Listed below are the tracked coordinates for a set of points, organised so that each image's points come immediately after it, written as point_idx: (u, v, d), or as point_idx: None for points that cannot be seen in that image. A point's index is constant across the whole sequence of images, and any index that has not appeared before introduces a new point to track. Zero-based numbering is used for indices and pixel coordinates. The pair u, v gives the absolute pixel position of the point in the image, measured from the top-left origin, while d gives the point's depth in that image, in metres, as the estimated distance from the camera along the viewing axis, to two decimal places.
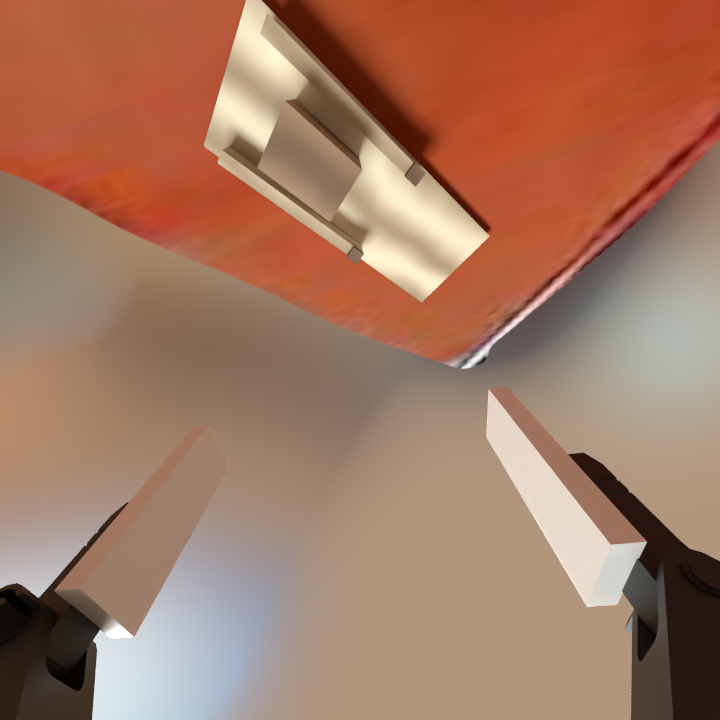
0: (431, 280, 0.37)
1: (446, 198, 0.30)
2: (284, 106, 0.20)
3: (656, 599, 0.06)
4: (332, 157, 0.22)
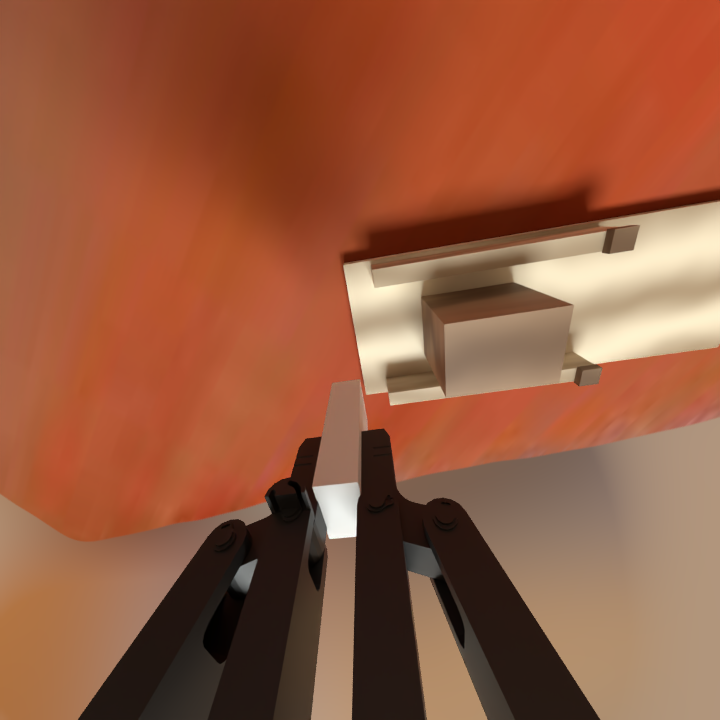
0: (715, 313, 0.22)
1: (667, 217, 0.19)
2: (446, 329, 0.16)
3: None
4: (526, 324, 0.15)
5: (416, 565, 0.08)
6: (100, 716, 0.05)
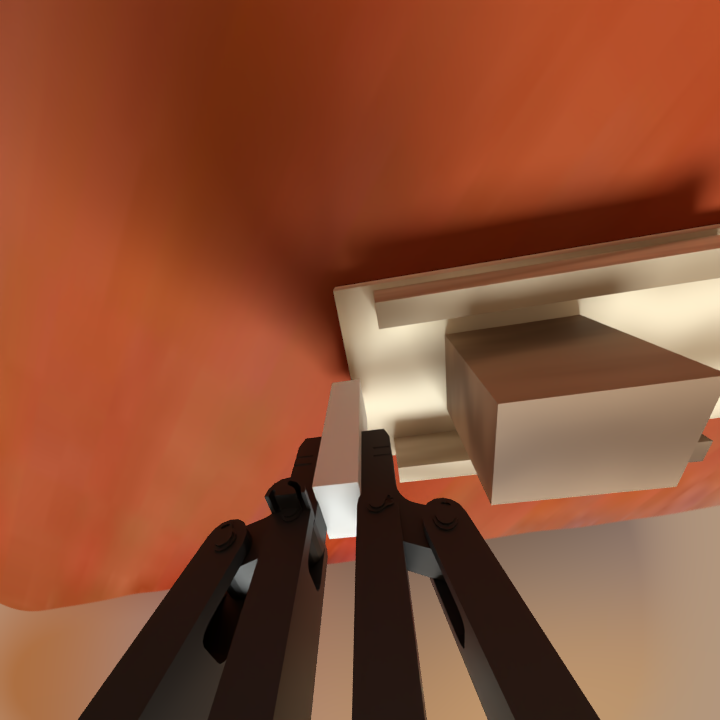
0: None
1: None
2: (500, 410, 0.09)
3: None
4: (639, 404, 0.09)
5: (416, 565, 0.08)
6: (100, 716, 0.05)
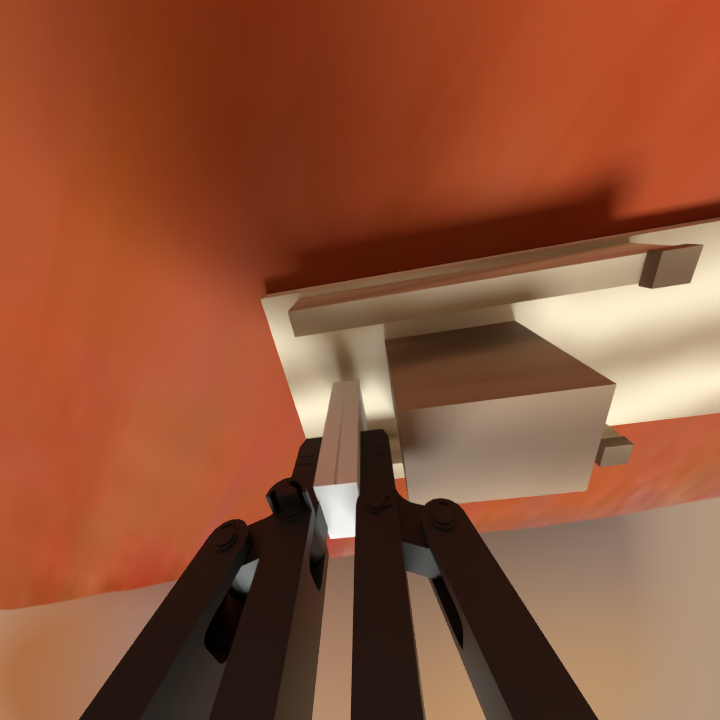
0: None
1: None
2: (401, 418, 0.09)
3: None
4: (534, 412, 0.09)
5: (415, 565, 0.08)
6: (101, 716, 0.05)
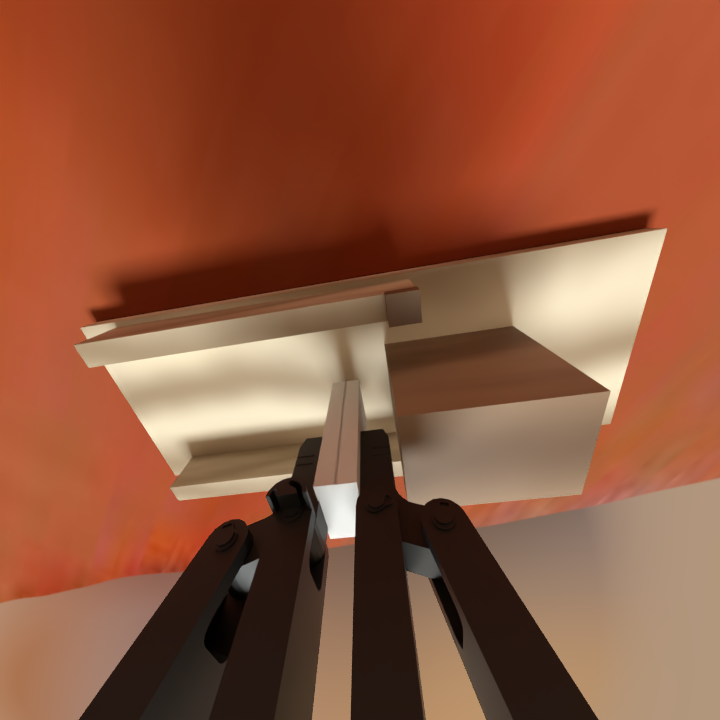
0: None
1: (500, 266, 0.14)
2: (401, 423, 0.10)
3: None
4: (531, 418, 0.10)
5: (415, 565, 0.08)
6: (101, 716, 0.05)
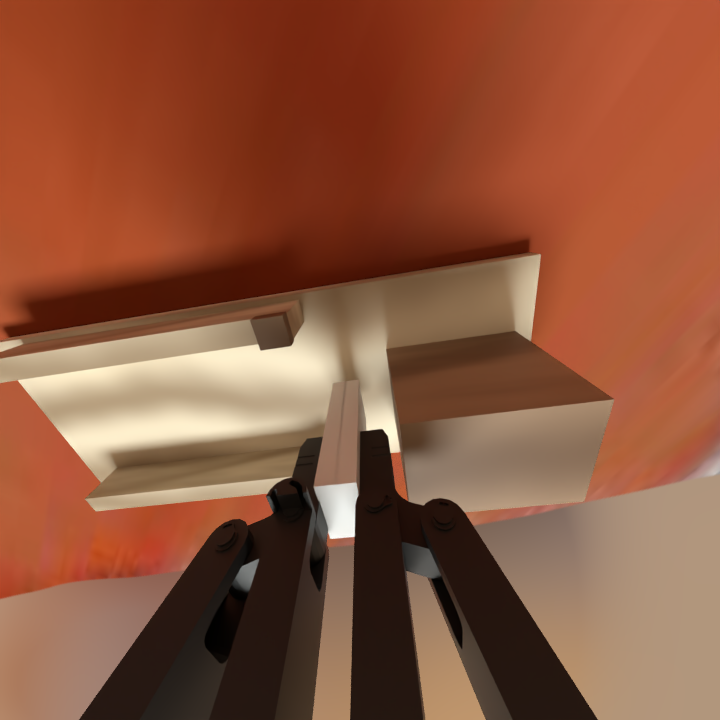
0: None
1: (386, 288, 0.14)
2: (403, 430, 0.10)
3: None
4: (534, 425, 0.09)
5: (414, 565, 0.08)
6: (102, 715, 0.05)
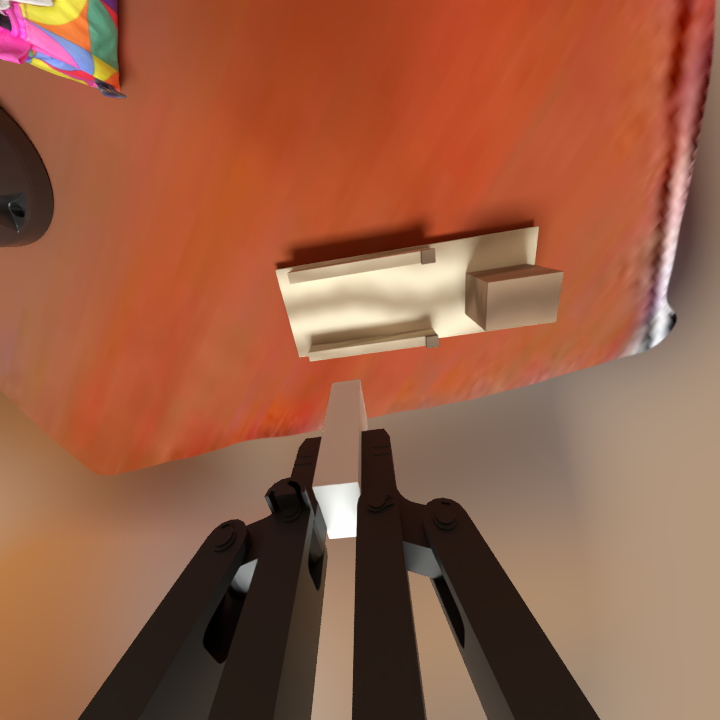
0: None
1: (469, 242, 0.31)
2: (488, 285, 0.27)
3: None
4: (536, 283, 0.26)
5: (416, 565, 0.08)
6: (100, 716, 0.05)
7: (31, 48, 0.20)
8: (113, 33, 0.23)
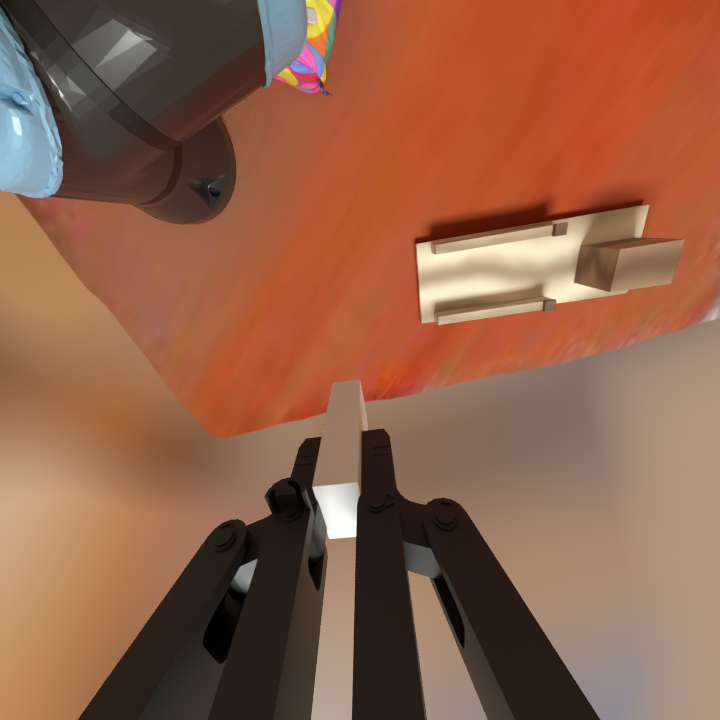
0: None
1: (588, 218, 0.36)
2: (620, 251, 0.32)
3: None
4: (660, 249, 0.32)
5: (416, 565, 0.08)
6: (100, 716, 0.05)
7: None
8: (332, 43, 0.28)
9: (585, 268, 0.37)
